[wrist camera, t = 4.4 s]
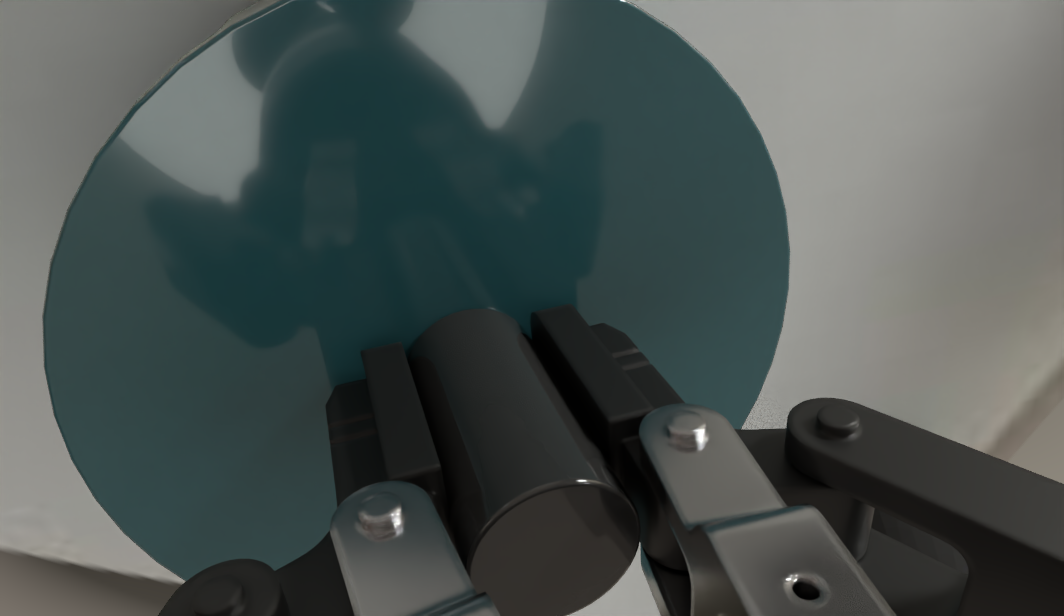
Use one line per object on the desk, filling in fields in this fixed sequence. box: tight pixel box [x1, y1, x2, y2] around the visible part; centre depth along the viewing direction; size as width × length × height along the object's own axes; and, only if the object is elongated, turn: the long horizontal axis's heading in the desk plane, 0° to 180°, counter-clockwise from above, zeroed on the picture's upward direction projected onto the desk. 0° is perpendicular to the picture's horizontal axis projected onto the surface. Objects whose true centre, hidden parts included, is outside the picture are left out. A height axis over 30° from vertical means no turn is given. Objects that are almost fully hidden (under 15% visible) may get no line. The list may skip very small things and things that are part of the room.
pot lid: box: [42, 0, 790, 616], centre depth 12 cm, size 13×13×6 cm
